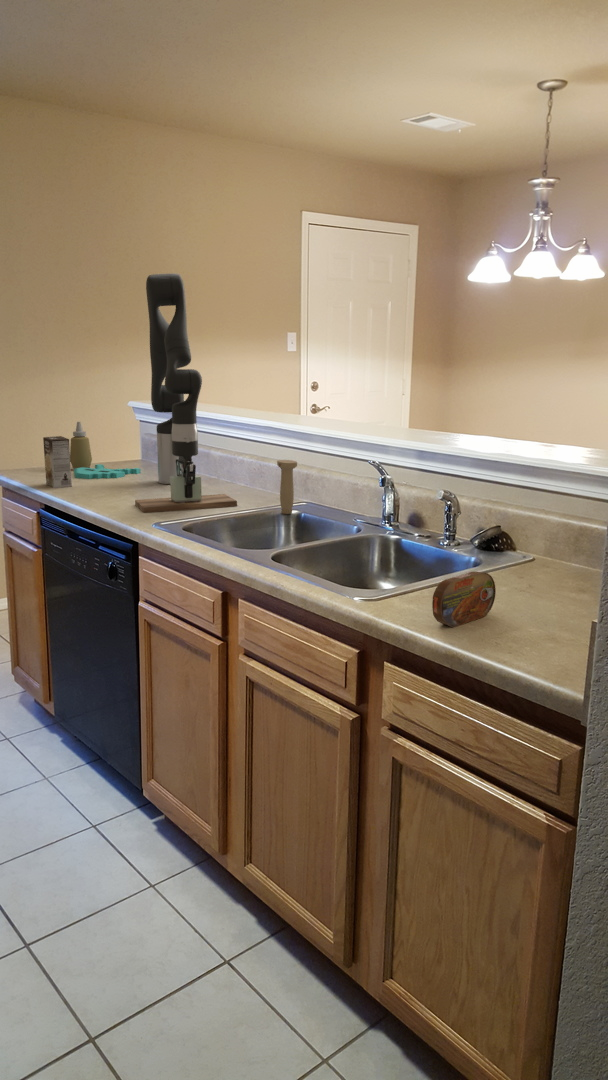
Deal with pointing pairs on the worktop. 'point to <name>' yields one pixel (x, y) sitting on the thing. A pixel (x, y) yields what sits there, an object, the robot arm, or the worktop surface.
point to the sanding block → (179, 489)
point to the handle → (286, 485)
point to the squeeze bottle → (80, 449)
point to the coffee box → (57, 461)
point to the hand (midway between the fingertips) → (186, 495)
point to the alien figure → (103, 472)
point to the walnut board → (184, 503)
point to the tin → (463, 598)
